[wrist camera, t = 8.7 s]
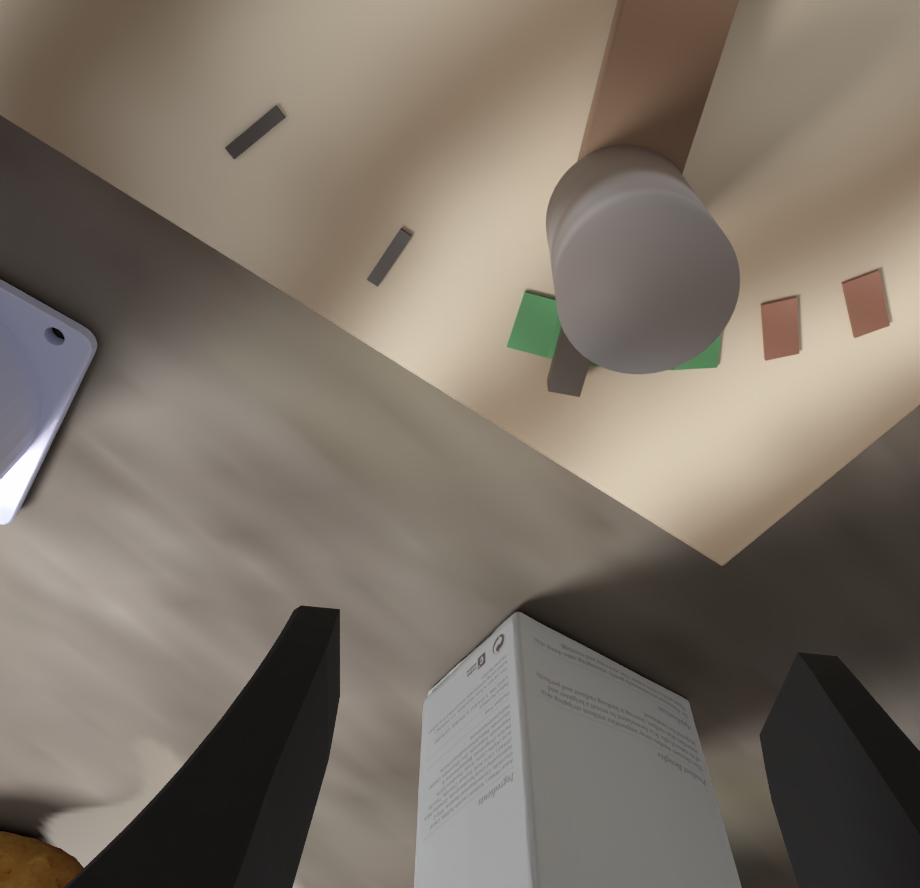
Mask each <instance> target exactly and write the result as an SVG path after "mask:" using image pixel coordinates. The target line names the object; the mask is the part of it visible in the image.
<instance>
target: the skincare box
mask: <svg viewBox="0 0 920 888" xmlns="http://www.w3.org/2000/svg"><path fill="white" fill-rule="evenodd" d="M414 888H742V886H741V883H740V879H739V876H738V872H737V869H736V865H735V862H734V859H733V855H732V852H731V848H730V845H729V841H728V838H727V834H726V830H725V827H724V823H723V820H722V817H721V813H720V810H719V806H718V803H717V799H716V796H715V793H714V789H713V786H712V782H711V779H710V775H709V771H708V768H707V764H706V761H705V757H704V754H703V750H702V747H701V743H700V740H699V736H698V733H697V730H696V726H695V723H694V719H693V715H692V712H691V708H690V702H689V701H688V700H686V699H685V698H683V697H681V696H679V695H677V694H675V693H673V692H671V691H670V690H668V689H666V688H664V687H662V686H660V685H658V684H656V683H654V682H652V681H650V680H648V679H646V678H644V677H642V676H640V675H638V674H637V673H635V672H633V671H631V670H629V669H627V668H625V667H623V666H622V665H620V664H618V663H616V662H614V661H612V660H610V659H608V658H606V657H604V656H603V655H601V654H599V653H597V652H595V651H593V650H591V649H589V648H587V647H585V646H584V645H582V644H580V643H578V642H576V641H574V640H572V639H570V638H568V637H566V636H564V635H562V634H560V633H558V632H556V631H554V630H552V629H550V628H548V627H547V626H545V625H543V624H541V623H539V622H537V621H536V620H534V619H532V618H530V617H528V616H527V615H525V614H523V613H521V612H515V613H514V614H512V615H511V616H510V617H509V618H508V619H507V620H505V621H504V622H503V623H502V624H501V625H500V626H499V627H498V628H497V629H496V630H495V631H494V632H493V634H492V635H490V636H489V637H488V638H487V639H486V640H485V641H484V642H483V643H482V644H481V645H480V646H478V647H477V648H476V649H475V650H474V651H473V652H472V653H471V654H470V655H468V656H467V657H466V658H465V659H464V660H463V661H461V662H460V663H459V664H458V665H457V666H456V667H455V668H453V669H452V670H451V671H450V672H449V673H448V674H447V675H446V676H445V677H444V678H443V679H442V680H441V681H440V682H439V683H438V684H436V685H435V686H434V687H433V688H432V689H431V690H430V691H429V693H428V697H427V699H426V700H425V702H424V705H423V721H422V740H421V758H420V778H419V797H418V820H417V840H416V860H415V880H414Z"/></svg>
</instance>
